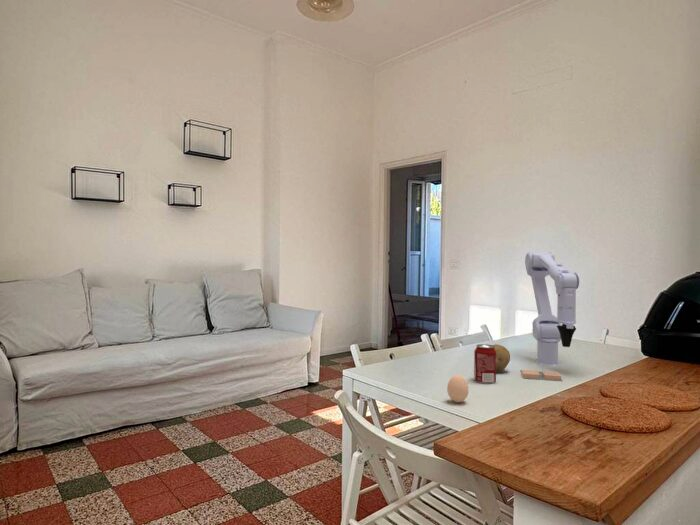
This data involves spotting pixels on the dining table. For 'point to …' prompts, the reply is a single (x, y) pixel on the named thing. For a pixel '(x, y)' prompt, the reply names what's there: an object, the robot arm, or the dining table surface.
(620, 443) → the dining table surface
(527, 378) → the mat
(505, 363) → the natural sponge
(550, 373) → the tile
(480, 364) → the soda can
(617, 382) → the dining table surface
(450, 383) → the egg
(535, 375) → the tile
